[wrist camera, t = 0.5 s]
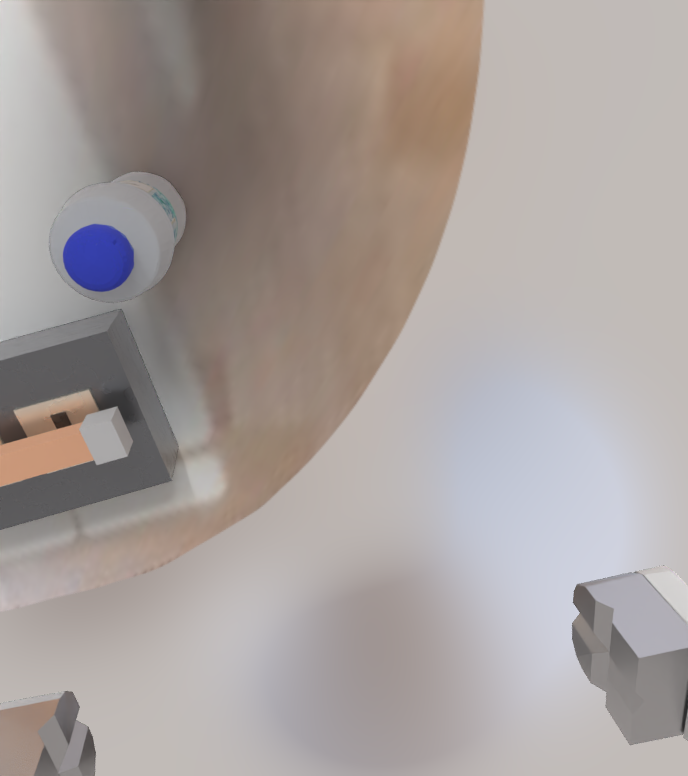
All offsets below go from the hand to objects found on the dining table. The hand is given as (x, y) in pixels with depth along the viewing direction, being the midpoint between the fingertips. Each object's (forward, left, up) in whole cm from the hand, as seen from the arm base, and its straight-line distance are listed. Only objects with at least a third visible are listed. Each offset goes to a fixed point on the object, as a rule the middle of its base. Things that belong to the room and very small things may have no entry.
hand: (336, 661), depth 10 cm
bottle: (-3, -8, -45) cm, 46 cm away
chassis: (+11, -23, -45) cm, 52 cm away
